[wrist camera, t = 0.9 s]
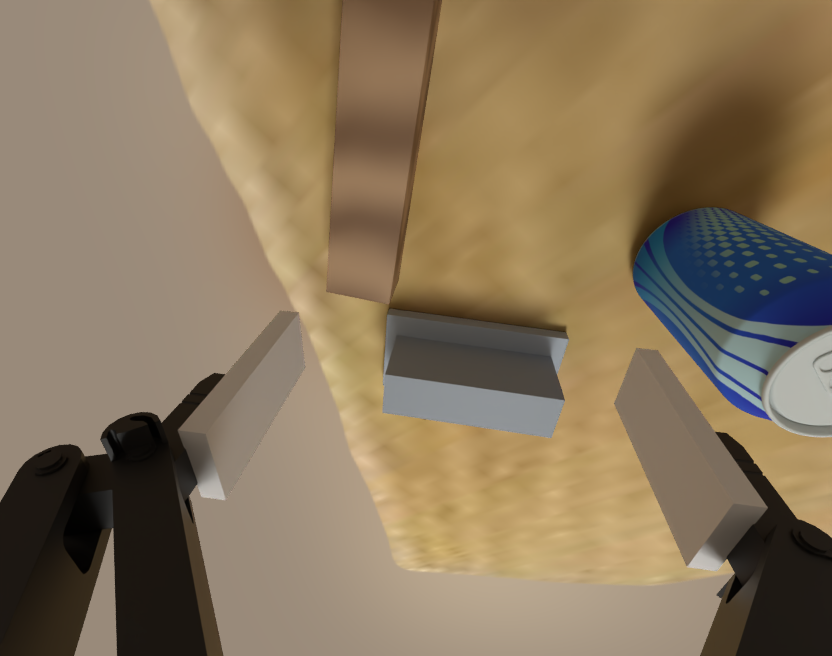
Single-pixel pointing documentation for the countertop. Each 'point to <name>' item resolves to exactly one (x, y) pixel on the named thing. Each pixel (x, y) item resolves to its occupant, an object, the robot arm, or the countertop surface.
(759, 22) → the countertop surface
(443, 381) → the fulcrum block
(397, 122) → the walnut bar
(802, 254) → the beer can
